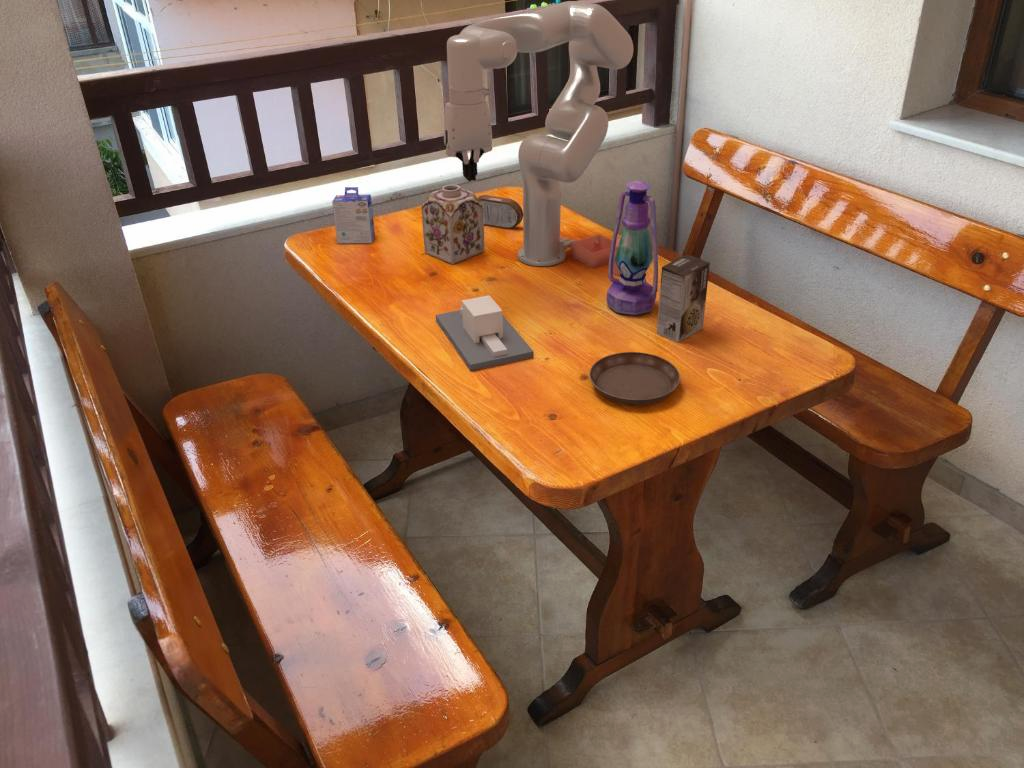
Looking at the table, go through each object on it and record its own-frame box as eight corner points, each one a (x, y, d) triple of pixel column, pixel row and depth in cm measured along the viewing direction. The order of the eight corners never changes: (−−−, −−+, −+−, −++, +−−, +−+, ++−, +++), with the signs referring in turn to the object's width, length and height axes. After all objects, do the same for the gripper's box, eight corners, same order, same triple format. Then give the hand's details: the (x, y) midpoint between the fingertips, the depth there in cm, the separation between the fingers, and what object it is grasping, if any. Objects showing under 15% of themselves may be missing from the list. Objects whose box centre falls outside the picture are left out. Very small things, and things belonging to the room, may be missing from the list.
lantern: (593, 306, 200) (597, 180, 184) (622, 289, 207) (629, 167, 192) (639, 323, 193) (648, 194, 177) (668, 305, 200) (680, 180, 184)
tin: (523, 228, 242) (523, 199, 237) (519, 232, 240) (518, 203, 235) (475, 220, 247) (474, 192, 243) (470, 224, 245) (469, 196, 240)
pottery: (570, 257, 225) (571, 221, 219) (598, 248, 229) (600, 213, 224) (615, 281, 212) (617, 244, 207) (644, 271, 216) (646, 234, 211)
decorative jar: (486, 252, 228) (483, 186, 218) (453, 265, 221) (449, 198, 211) (455, 240, 235) (452, 176, 225) (423, 253, 228) (418, 187, 219)
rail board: (493, 309, 200) (493, 299, 198) (533, 357, 181) (533, 346, 179) (435, 320, 195) (435, 310, 194) (470, 371, 176) (470, 359, 175)
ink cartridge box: (376, 236, 239) (370, 185, 231) (373, 244, 234) (367, 192, 226) (340, 236, 239) (334, 185, 231) (337, 244, 234) (330, 193, 226)
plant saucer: (616, 420, 161) (616, 406, 159) (573, 375, 175) (574, 362, 173) (696, 399, 167) (697, 385, 165) (649, 357, 181) (650, 344, 179)
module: (490, 321, 191) (489, 295, 188) (503, 337, 185) (502, 310, 182) (463, 326, 189) (461, 300, 186) (475, 343, 183) (473, 316, 180)
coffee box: (679, 319, 194) (686, 253, 185) (703, 328, 190) (711, 261, 182) (654, 333, 189) (660, 265, 180) (679, 343, 185) (685, 274, 176)
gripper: (493, 89, 191) (495, 170, 201) (428, 96, 186) (434, 178, 196) (505, 96, 185) (506, 179, 195) (438, 104, 181) (444, 188, 190)
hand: (470, 179), depth 196 cm, fingers closed
